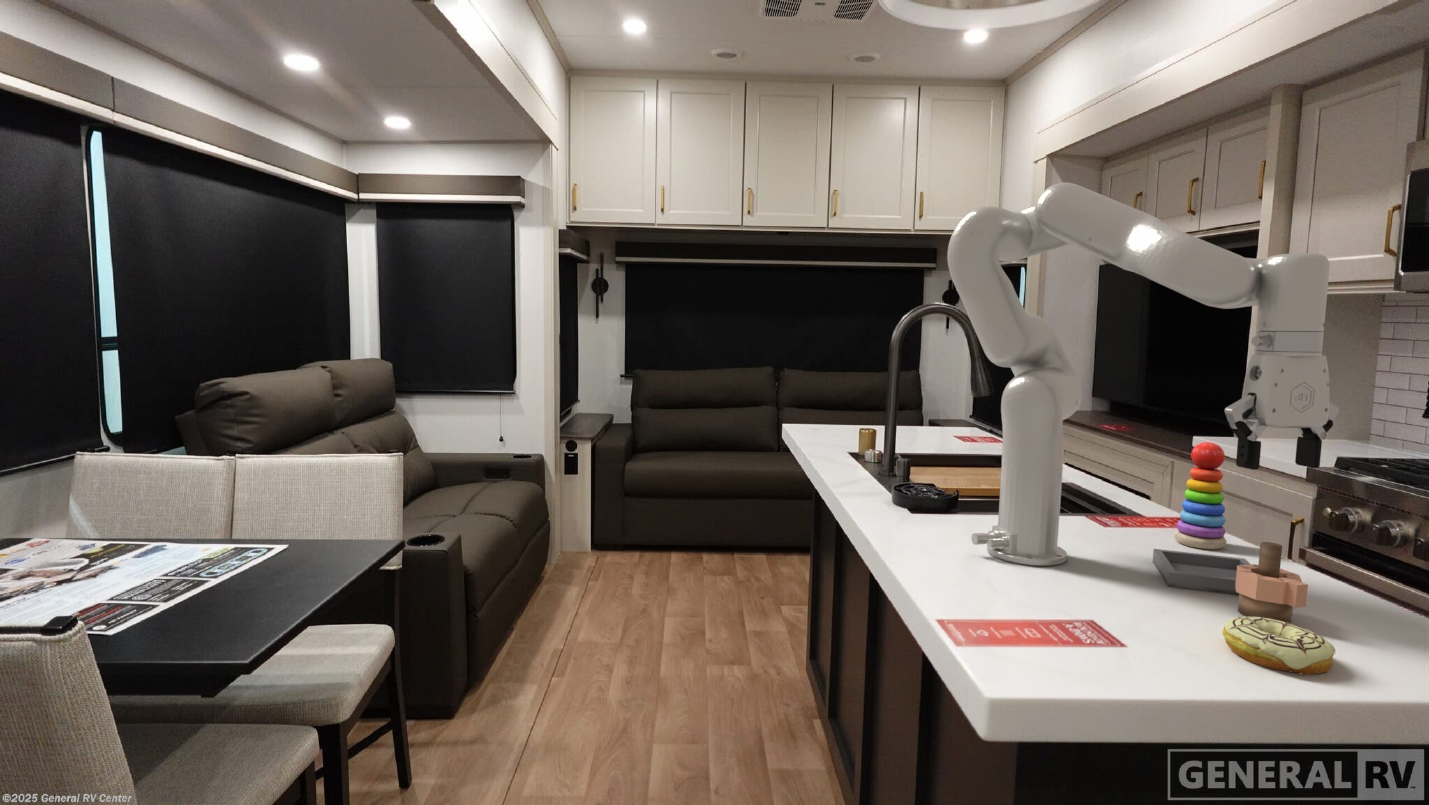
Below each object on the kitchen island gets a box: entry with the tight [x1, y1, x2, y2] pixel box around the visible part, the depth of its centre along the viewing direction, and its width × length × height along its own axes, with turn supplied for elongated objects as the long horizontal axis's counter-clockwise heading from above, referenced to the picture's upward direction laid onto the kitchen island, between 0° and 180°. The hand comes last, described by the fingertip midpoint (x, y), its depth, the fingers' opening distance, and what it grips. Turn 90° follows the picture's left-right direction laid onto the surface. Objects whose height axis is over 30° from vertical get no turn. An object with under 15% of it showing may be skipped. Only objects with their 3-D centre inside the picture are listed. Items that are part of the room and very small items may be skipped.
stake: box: [1237, 541, 1294, 624], centre depth 105 cm, size 6×6×10 cm
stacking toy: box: [1174, 441, 1227, 550], centre depth 138 cm, size 8×8×19 cm
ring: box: [1235, 563, 1309, 608], centre depth 104 cm, size 7×8×3 cm
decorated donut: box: [1222, 615, 1336, 675], centre depth 92 cm, size 10×11×4 cm
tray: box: [1152, 548, 1251, 596], centre depth 120 cm, size 13×13×2 cm
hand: (1277, 467), depth 107 cm, fingers open, 9 cm apart
